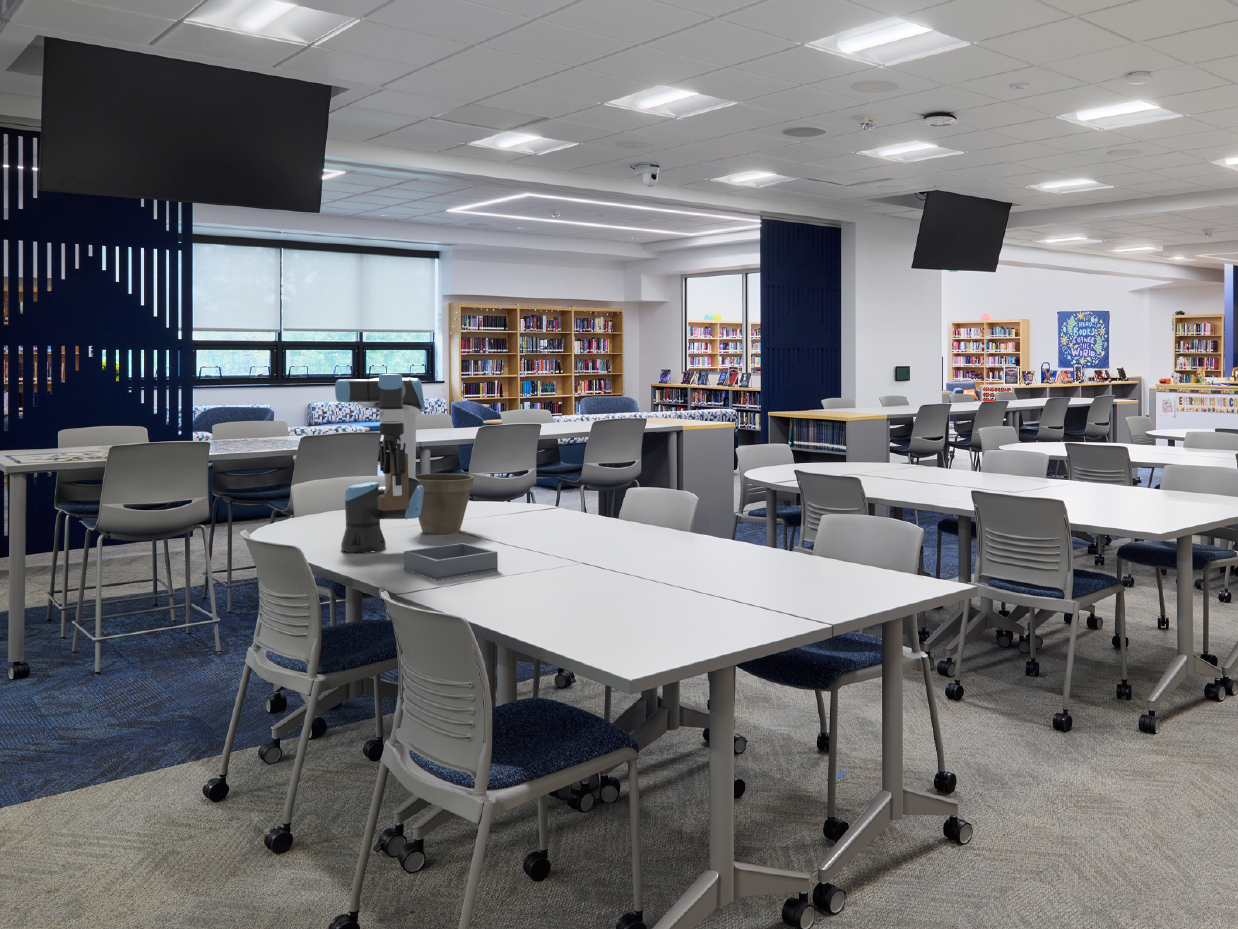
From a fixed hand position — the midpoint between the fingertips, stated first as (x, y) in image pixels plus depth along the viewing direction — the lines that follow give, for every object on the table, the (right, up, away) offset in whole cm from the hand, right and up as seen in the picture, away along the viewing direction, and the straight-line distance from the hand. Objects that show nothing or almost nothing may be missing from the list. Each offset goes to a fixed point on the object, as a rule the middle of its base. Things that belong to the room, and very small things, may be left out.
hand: (393, 494), depth 307 cm
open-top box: (+19, -24, -5) cm, 31 cm away
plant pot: (+3, -17, +66) cm, 68 cm away
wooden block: (0, -5, +1) cm, 5 cm away
